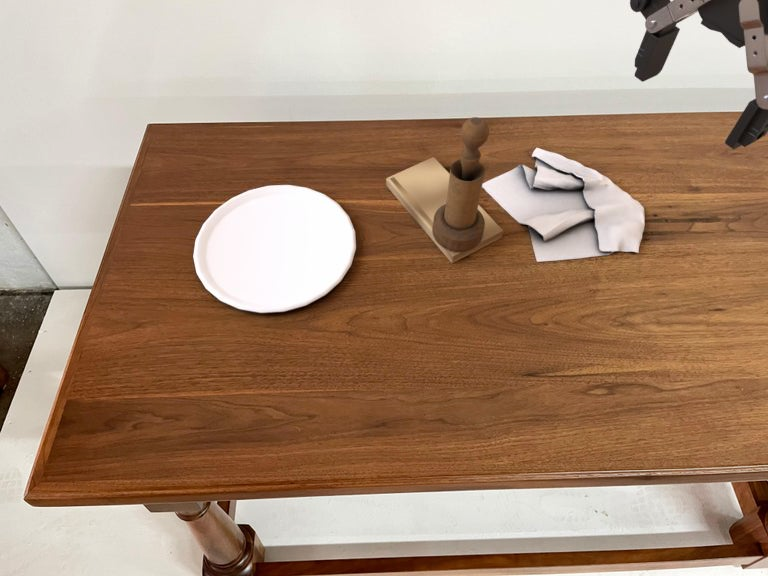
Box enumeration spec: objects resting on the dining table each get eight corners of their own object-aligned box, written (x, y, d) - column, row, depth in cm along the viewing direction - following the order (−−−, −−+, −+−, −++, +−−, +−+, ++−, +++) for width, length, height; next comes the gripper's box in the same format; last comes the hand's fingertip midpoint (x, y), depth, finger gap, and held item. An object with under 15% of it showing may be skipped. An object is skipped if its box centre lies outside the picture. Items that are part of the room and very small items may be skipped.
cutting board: (501, 237, 79) (503, 230, 78) (451, 263, 77) (453, 256, 75) (433, 164, 87) (433, 156, 85) (385, 185, 84) (385, 177, 83)
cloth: (659, 264, 77) (666, 252, 75) (487, 261, 77) (490, 249, 75) (626, 152, 88) (632, 139, 86) (476, 150, 88) (479, 137, 86)
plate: (197, 330, 71) (194, 325, 70) (193, 201, 83) (191, 195, 82) (369, 301, 73) (369, 295, 72) (343, 180, 85) (342, 173, 84)
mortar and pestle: (421, 229, 78) (432, 118, 63) (456, 205, 80) (475, 93, 65) (457, 261, 75) (478, 152, 60) (493, 234, 77) (521, 124, 63)
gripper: (665, -186, 32) (583, 73, 46) (917, -76, 25) (733, 190, 39) (759, -213, 34) (654, 41, 48) (1013, -118, 28) (808, 147, 41)
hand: (690, 108), depth 43 cm, fingers open, 8 cm apart
